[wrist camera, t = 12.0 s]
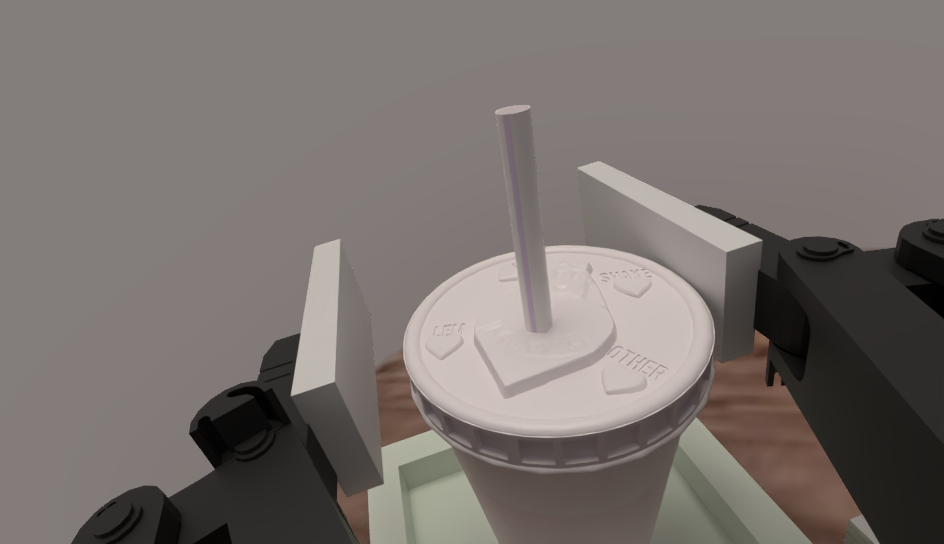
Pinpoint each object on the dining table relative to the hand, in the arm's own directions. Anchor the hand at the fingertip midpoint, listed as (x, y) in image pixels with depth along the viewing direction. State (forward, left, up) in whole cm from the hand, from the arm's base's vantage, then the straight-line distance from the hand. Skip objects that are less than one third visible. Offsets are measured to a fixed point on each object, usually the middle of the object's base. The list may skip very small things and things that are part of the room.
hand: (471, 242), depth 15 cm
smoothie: (0, +5, -10) cm, 11 cm away
